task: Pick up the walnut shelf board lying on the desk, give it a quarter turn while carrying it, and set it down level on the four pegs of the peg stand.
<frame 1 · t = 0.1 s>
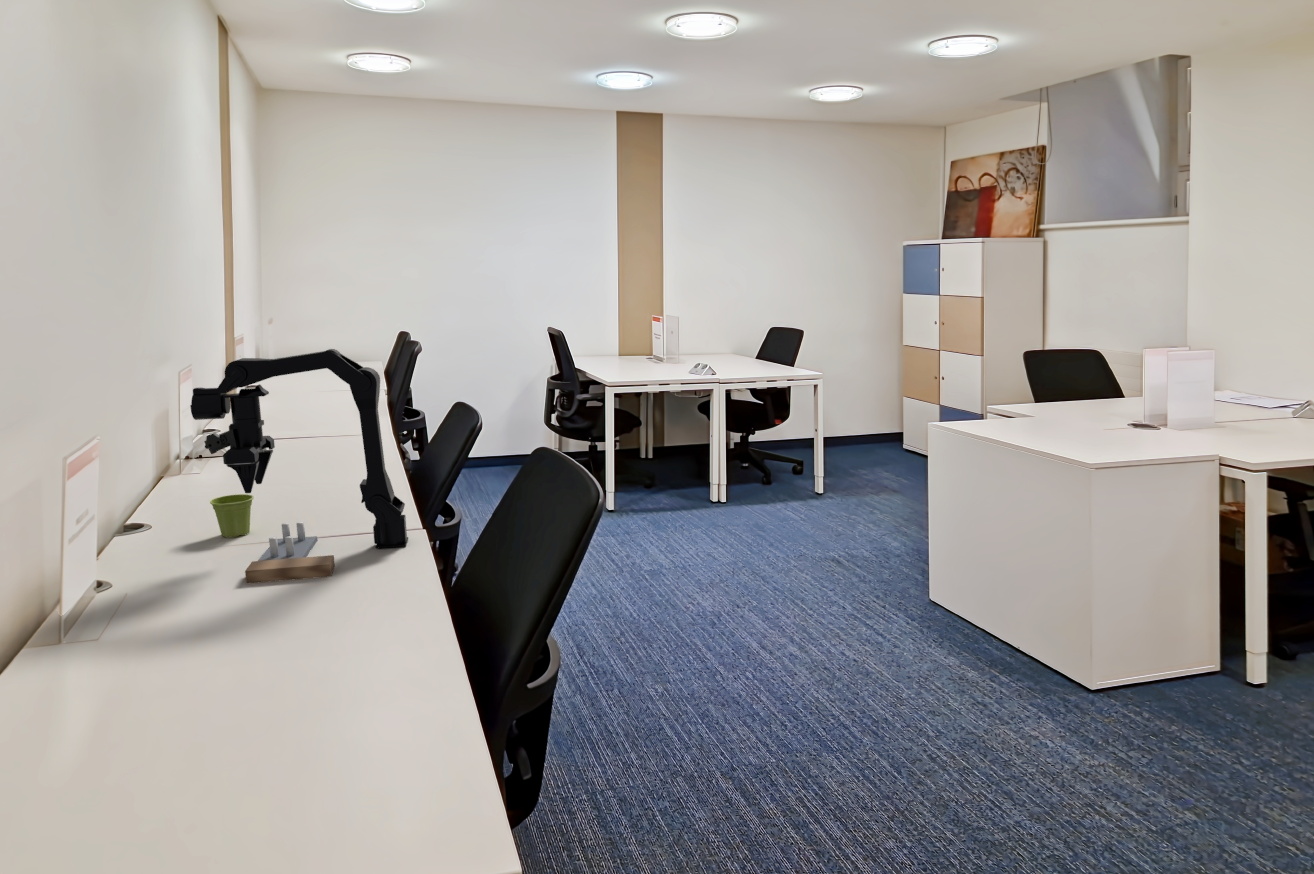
hand: (253, 488, 206), 15 cm above the table, tool pointing down, fingers open, 9 cm apart
plant pot: (235, 535, 224), on the table
peg stand: (289, 552, 208), on the table
shelf board: (291, 577, 193), on the table
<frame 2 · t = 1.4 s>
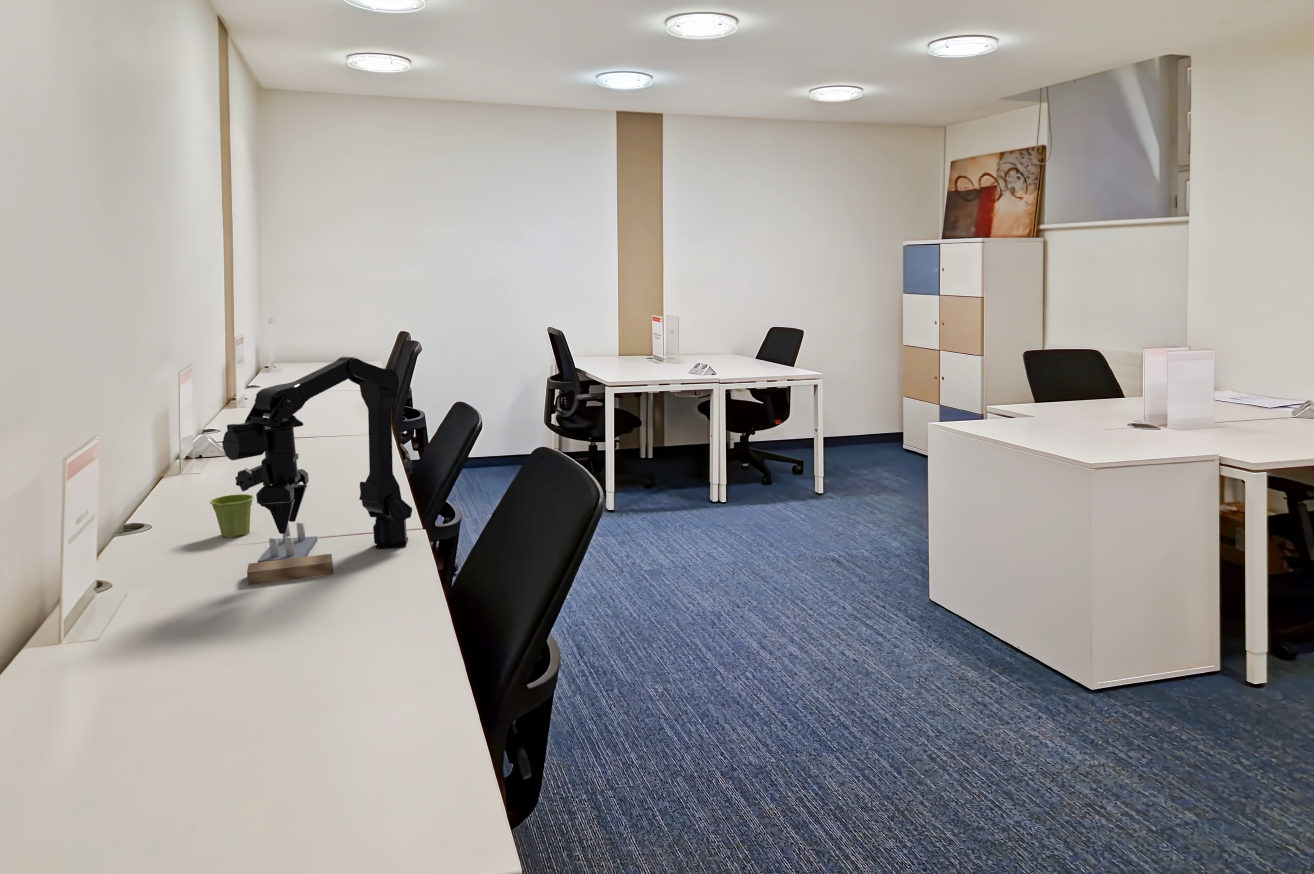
hand: (287, 527, 191), 10 cm above the table, tool pointing down, fingers open, 9 cm apart
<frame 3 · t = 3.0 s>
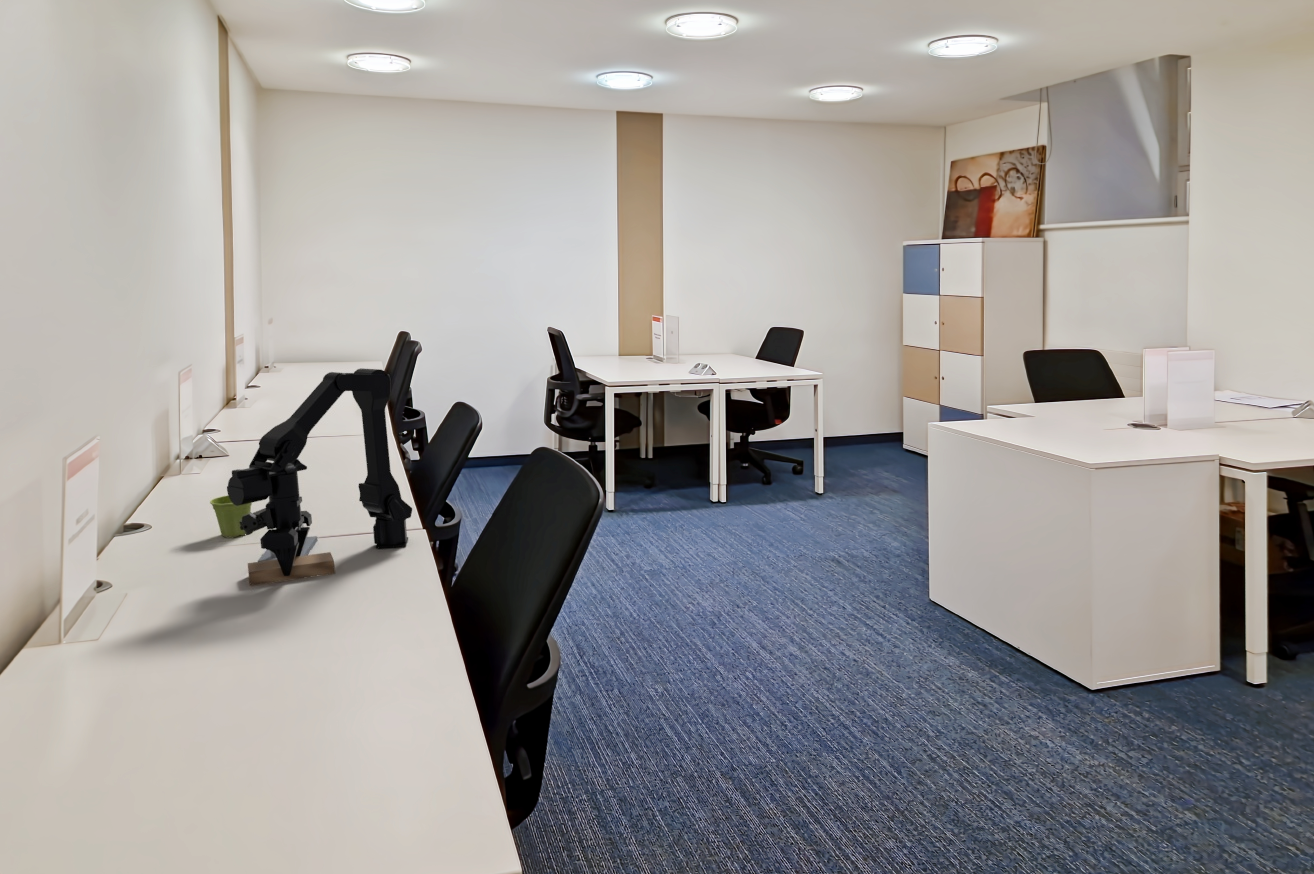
hand: (291, 569, 192), 1 cm above the table, tool pointing down, fingers closed on shelf board, 7 cm apart
shelf board: (292, 575, 193), on the table, touching gripper
everything else where it was.
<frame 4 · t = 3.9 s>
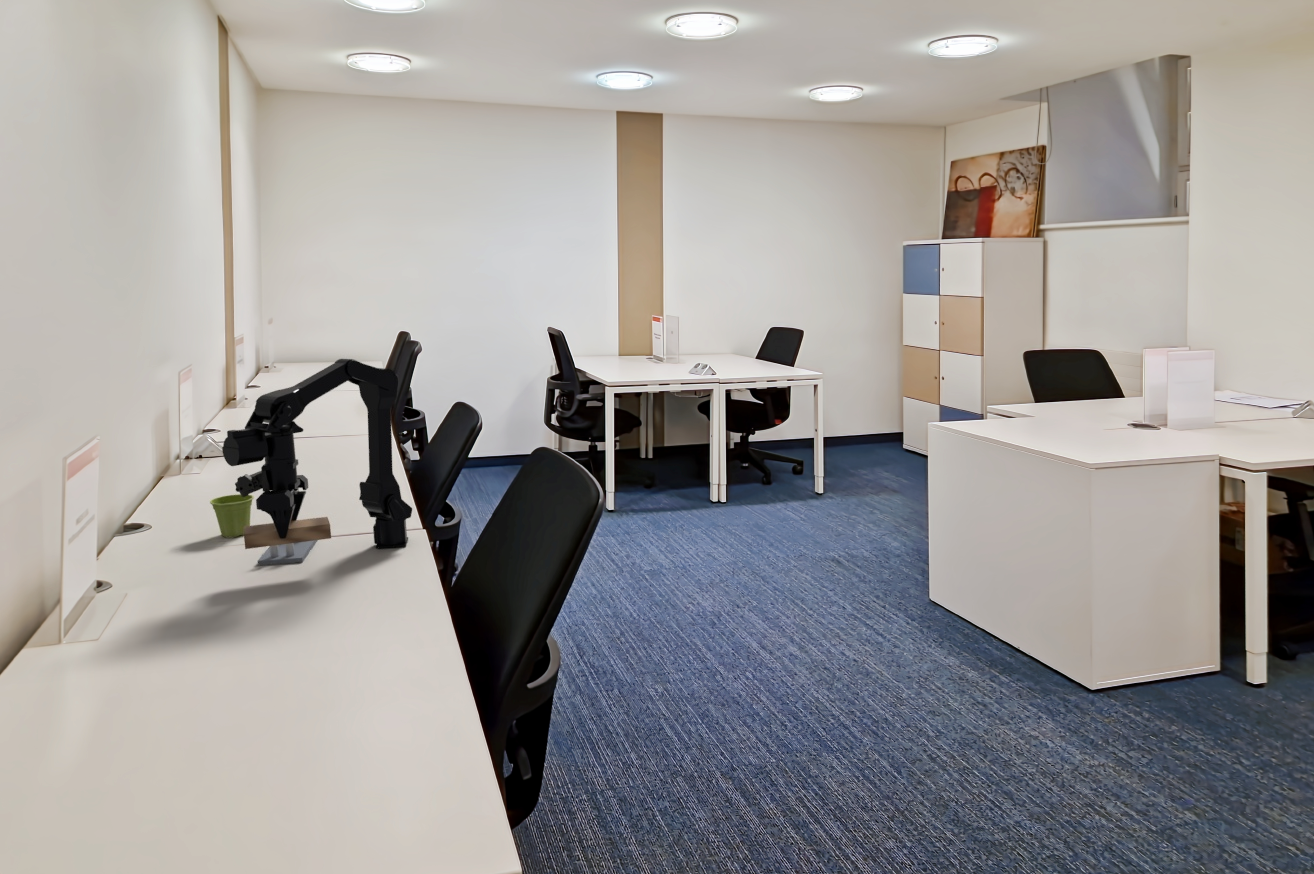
hand: (287, 533, 191), 9 cm above the table, tool pointing down, fingers closed on shelf board, 7 cm apart
shelf board: (288, 539, 191), point 7 cm above the table, touching gripper
everything else where it was.
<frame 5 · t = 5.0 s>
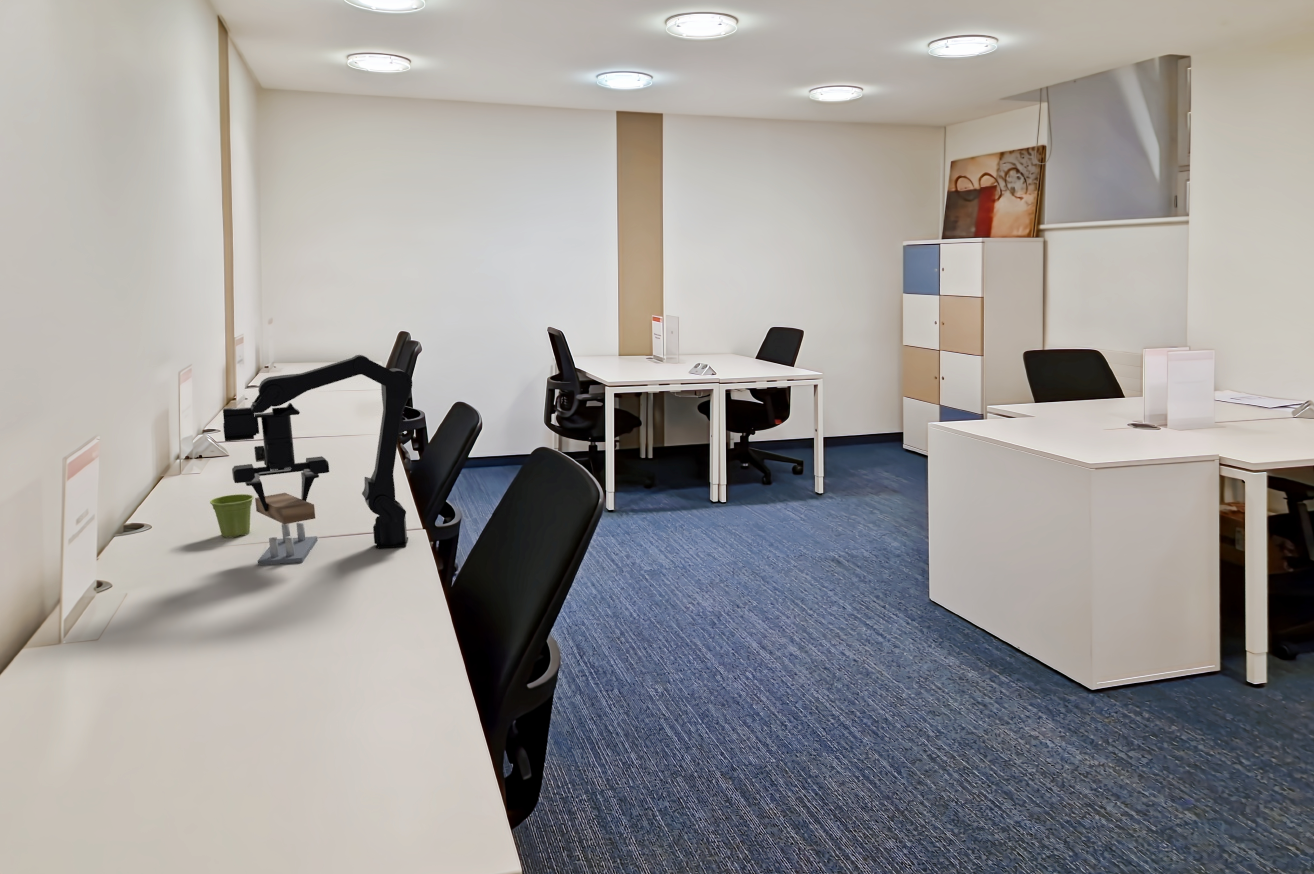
hand: (284, 508, 202), 11 cm above the table, tool pointing down, fingers closed on shelf board, 7 cm apart
shelf board: (285, 514, 202), point 10 cm above the table, touching gripper
everything else where it was.
when the fingers open (7 cm above the table, at t = 6.6 s): shelf board stays where it is, resting on peg stand.
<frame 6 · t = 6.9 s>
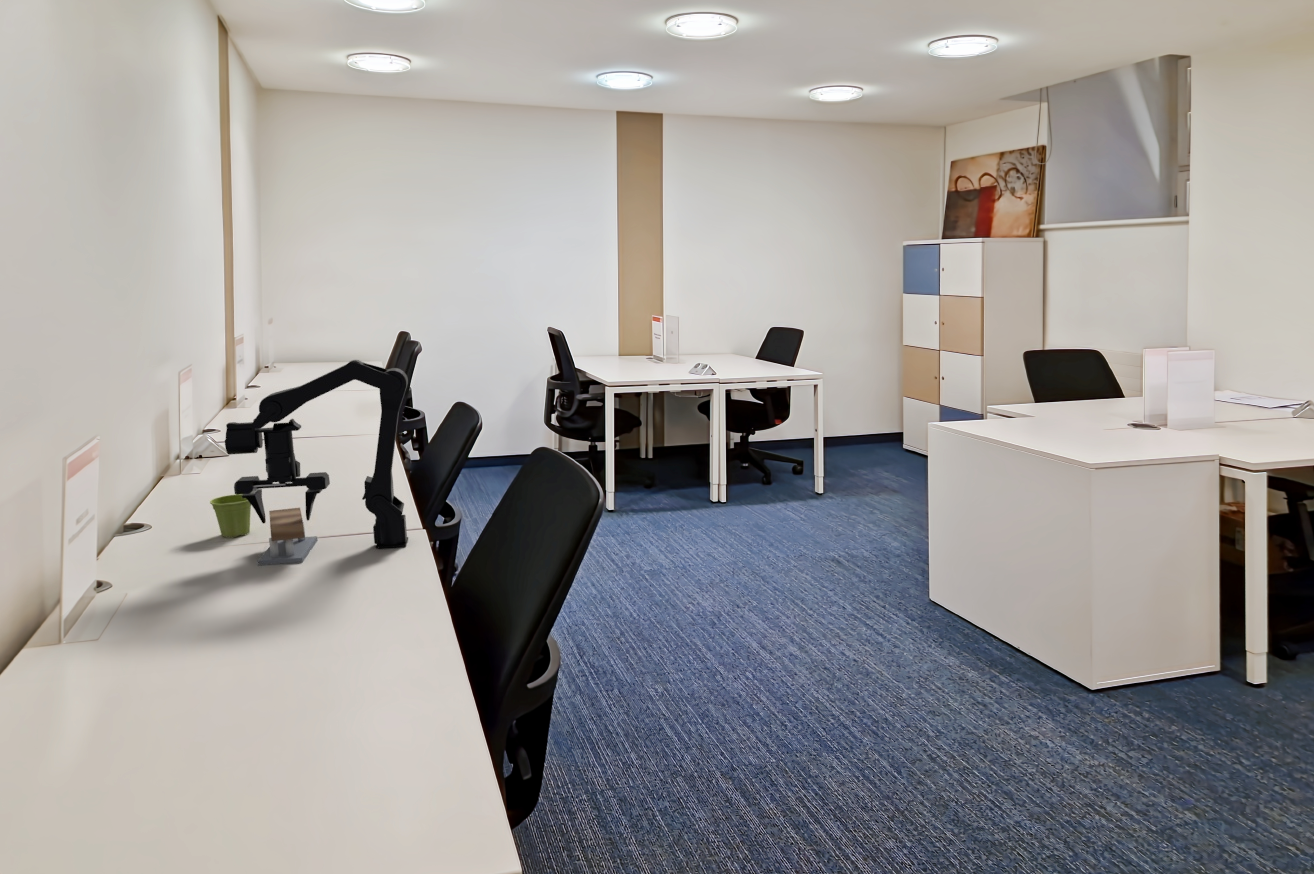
hand: (286, 521, 207), 7 cm above the table, tool pointing down, fingers open, 9 cm apart
shelf board: (287, 530, 208), point 5 cm above the table, touching peg stand
everything else where it was.
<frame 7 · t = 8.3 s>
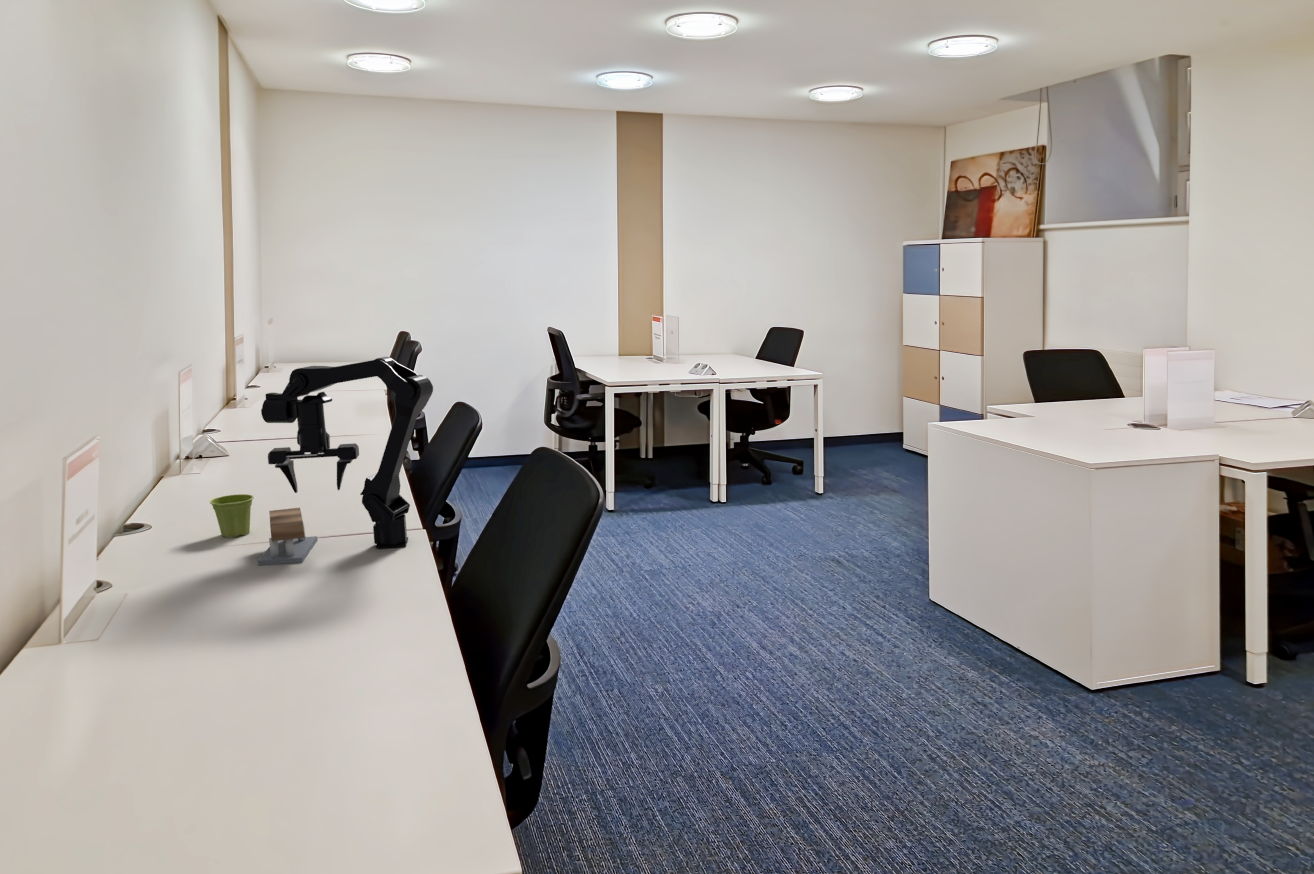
hand: (317, 491, 214), 12 cm above the table, tool pointing down, fingers open, 9 cm apart
nothing on the table moved.
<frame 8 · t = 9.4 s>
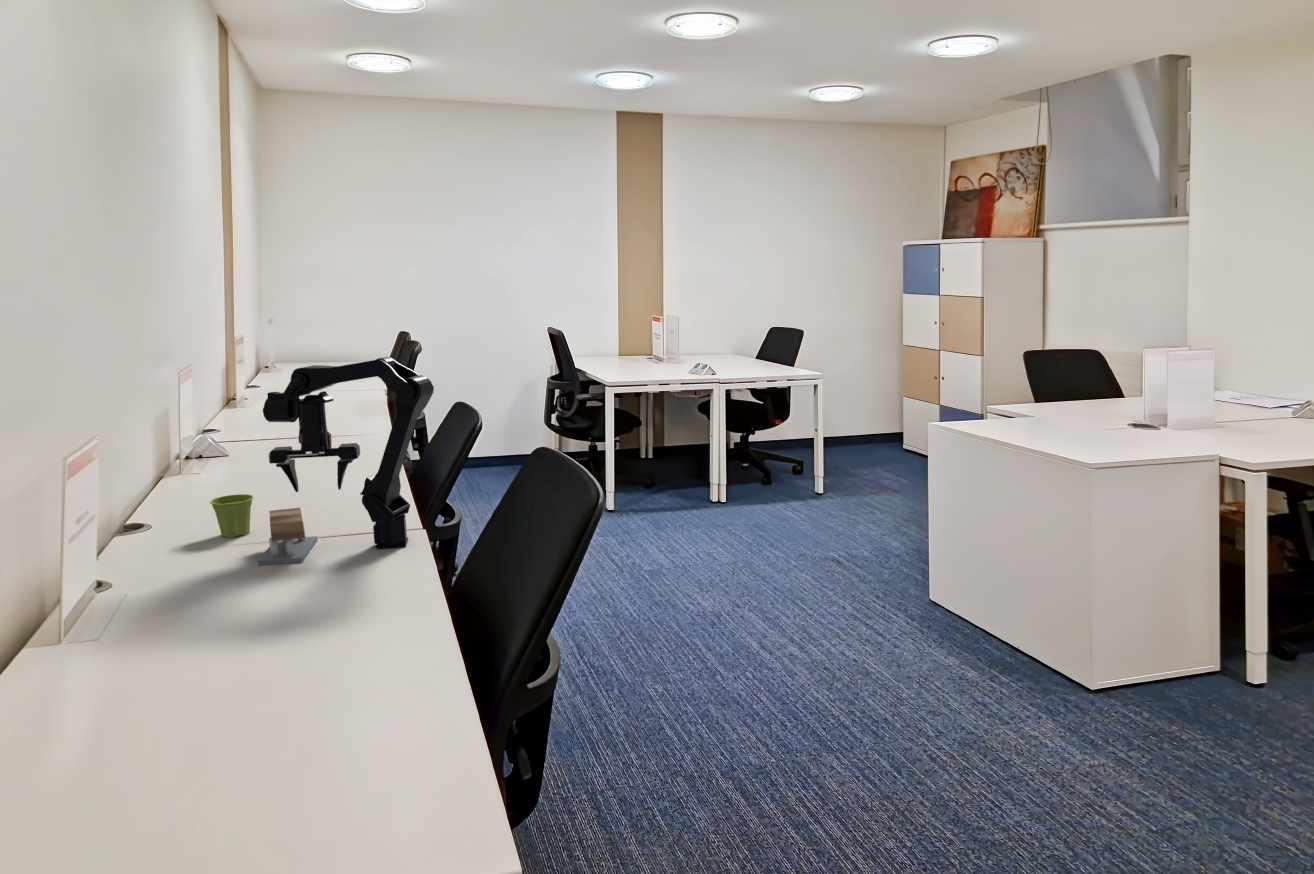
hand: (318, 490, 214), 12 cm above the table, tool pointing down, fingers open, 9 cm apart
nothing on the table moved.
at the end: shelf board 0.0 cm off-centre on the peg stand, point 5.0 cm above the peg stand's base; shelf board tilted 0°; shelf board touching peg stand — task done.
